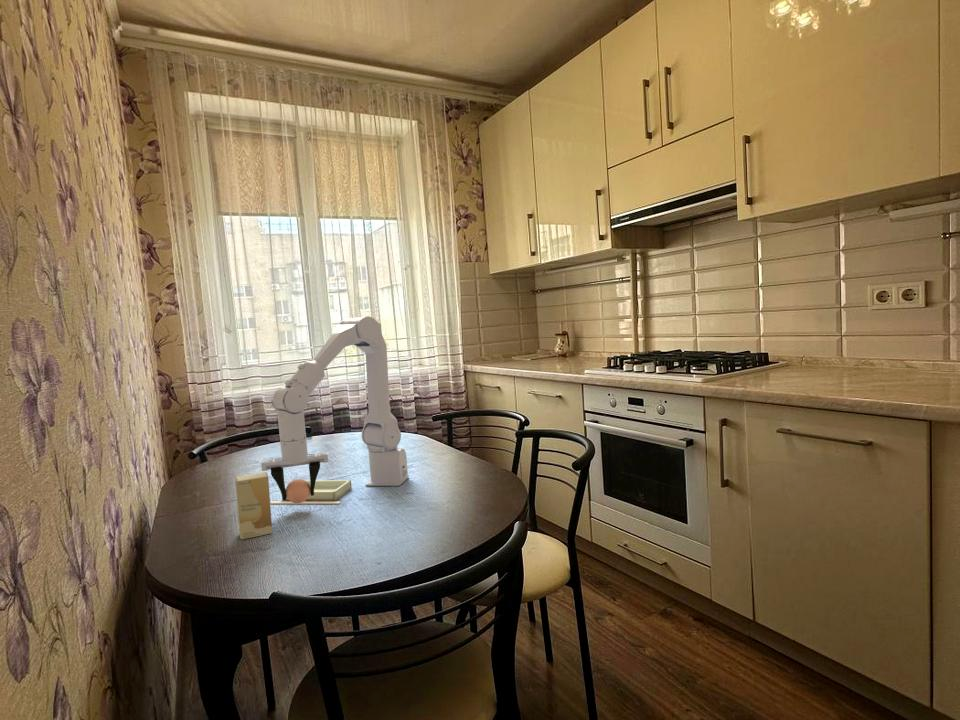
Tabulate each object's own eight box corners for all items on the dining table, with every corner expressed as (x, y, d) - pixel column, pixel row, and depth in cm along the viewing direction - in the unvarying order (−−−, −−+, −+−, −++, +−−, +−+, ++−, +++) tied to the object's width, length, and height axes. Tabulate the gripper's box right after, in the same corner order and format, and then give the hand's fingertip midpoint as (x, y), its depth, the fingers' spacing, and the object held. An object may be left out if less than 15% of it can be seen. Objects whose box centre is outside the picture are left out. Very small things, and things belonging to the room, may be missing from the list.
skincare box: (240, 540, 111) (234, 481, 110) (239, 533, 114) (233, 476, 113) (274, 533, 113) (268, 475, 113) (271, 526, 117) (266, 470, 116)
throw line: (340, 502, 130) (340, 501, 130) (338, 504, 129) (338, 502, 129) (272, 502, 134) (271, 501, 134) (269, 504, 133) (269, 502, 133)
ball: (315, 498, 129) (313, 475, 129) (304, 506, 124) (302, 482, 124) (294, 498, 130) (292, 475, 130) (282, 506, 125) (279, 483, 125)
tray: (351, 488, 141) (350, 480, 141) (335, 500, 132) (334, 492, 132) (301, 488, 144) (301, 480, 144) (282, 500, 135) (281, 492, 134)
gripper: (325, 431, 132) (330, 486, 133) (260, 439, 128) (266, 496, 129) (326, 437, 125) (331, 495, 126) (258, 445, 121) (264, 505, 122)
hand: (298, 496), depth 127 cm, fingers closed on ball, 5 cm apart
